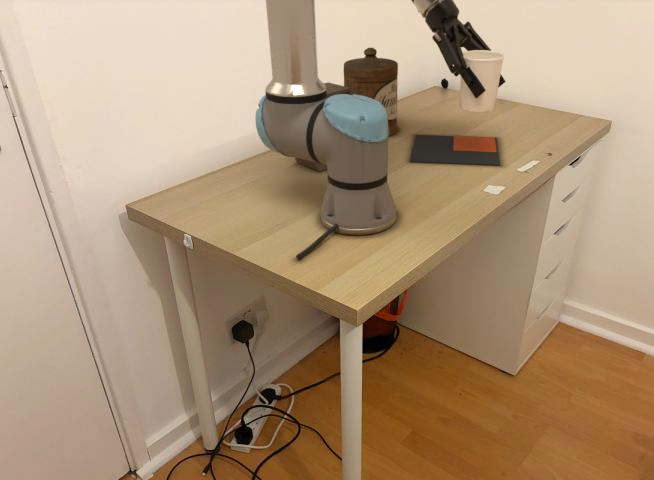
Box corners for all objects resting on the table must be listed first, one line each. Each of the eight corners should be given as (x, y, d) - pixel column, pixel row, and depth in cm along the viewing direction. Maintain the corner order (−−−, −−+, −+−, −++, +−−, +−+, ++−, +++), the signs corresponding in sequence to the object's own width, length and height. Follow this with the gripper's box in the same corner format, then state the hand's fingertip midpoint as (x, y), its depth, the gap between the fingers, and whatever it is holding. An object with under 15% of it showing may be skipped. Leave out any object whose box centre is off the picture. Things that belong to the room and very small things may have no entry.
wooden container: (390, 140, 152) (391, 54, 140) (338, 136, 155) (334, 52, 143) (401, 124, 164) (403, 43, 152) (353, 120, 167) (351, 41, 155)
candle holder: (501, 113, 131) (508, 59, 124) (459, 114, 131) (463, 59, 124) (493, 101, 139) (499, 49, 132) (453, 101, 139) (457, 50, 132)
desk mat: (500, 166, 137) (500, 164, 136) (410, 162, 139) (410, 160, 139) (496, 138, 153) (496, 137, 153) (415, 135, 156) (415, 134, 155)
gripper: (451, 14, 140) (501, 89, 141) (400, 26, 126) (456, 110, 126) (471, -9, 134) (523, 70, 135) (421, 2, 120) (479, 90, 121)
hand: (491, 89), depth 131 cm, fingers closed on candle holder, 9 cm apart
